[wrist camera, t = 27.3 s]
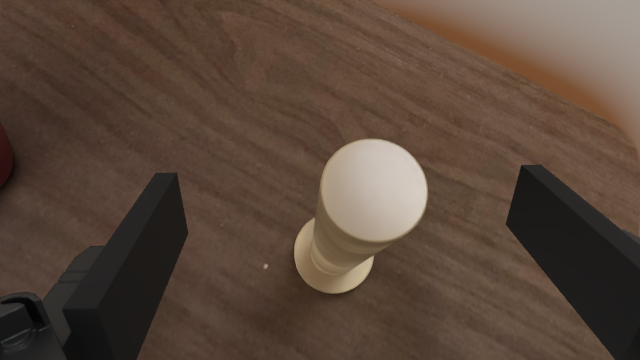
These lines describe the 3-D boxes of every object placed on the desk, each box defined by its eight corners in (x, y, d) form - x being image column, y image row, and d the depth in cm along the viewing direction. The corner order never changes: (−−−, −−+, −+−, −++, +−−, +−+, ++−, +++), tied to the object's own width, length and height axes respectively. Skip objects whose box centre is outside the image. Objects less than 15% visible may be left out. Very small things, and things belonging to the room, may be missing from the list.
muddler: (367, 215, 24) (452, 103, 10) (373, 292, 22) (479, 279, 9) (293, 217, 23) (280, 106, 10) (295, 295, 22) (283, 287, 9)
